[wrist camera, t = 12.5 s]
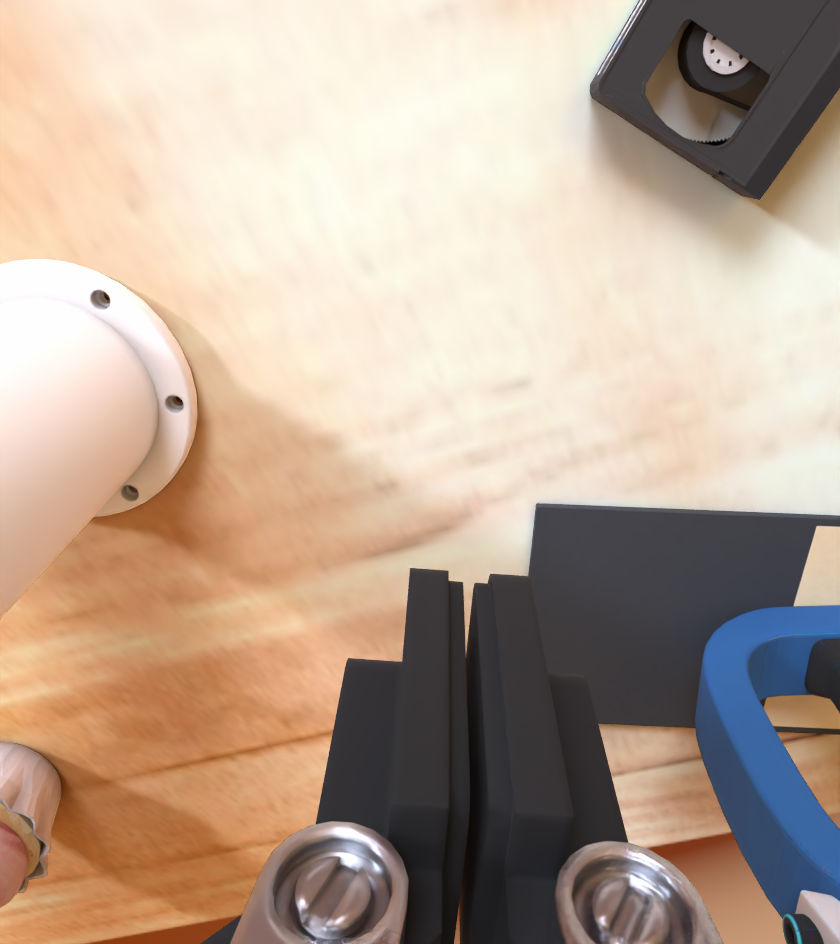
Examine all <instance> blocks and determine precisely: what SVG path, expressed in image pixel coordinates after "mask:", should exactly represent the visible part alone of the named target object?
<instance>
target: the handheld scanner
mask: <svg viewBox="0 0 840 944" xmlns="http://www.w3.org/2000/svg"><path fill="white" fill-rule="evenodd" d="M792 695H815V696H819V697H823V698H827V699H831V701H832V702H833V704H834V705H835V707H836V708H837V710H838V711H839V713H840V605H824V606H787V607H769V608H762V609H757V610H754V611H750V612H747V613H744V614H741V615H739V616H737V617H735V618H733V619H731V620H729V621H727V622H725V623H724V624H723V625H722V626H721V627H719V628H718V629H717V630H716V631H715V632H714V633H713V634H712V636H711V638H710V639H709V641H708V642H707V644H706V646H705V650H704V655H703V660H702V667H701V675H700V683H699V690H698V698H697V706H696V714H695V725H696V736H697V741H698V745H699V748H700V752H701V755H702V759H703V762H704V765H705V768H706V770H707V773H708V776H709V778H710V781H711V784H712V786H713V789H714V791H715V794H716V796H717V799H718V801H719V804H720V806H721V809H722V811H723V814H724V816H725V818H726V820H727V822H728V824H729V827H730V829H731V831H732V833H733V835H734V837H735V839H736V842H737V844H738V846H739V848H740V850H741V852H742V854H743V856H744V858H745V860H746V861H747V863H748V865H749V867H750V868H751V870H752V872H753V874H754V875H755V877H756V879H757V881H758V882H759V884H760V886H761V888H762V890H763V891H764V893H765V895H766V897H767V898H768V900H769V901H770V902H771V904H772V905H773V906H774V908H775V909H776V910H777V912H778V913H779V914H780V916H781V917H782V919H783V932H784V936H785V940H786V943H787V944H840V829H839V828H838V827H837V826H836V825H835V823H834V822H833V821H832V820H831V819H830V817H829V816H828V815H827V813H826V812H825V811H824V809H823V808H822V807H821V805H820V804H819V802H818V800H817V799H816V797H815V796H814V794H813V793H812V791H811V789H810V788H809V786H808V785H807V783H806V782H805V780H804V779H803V777H802V775H801V774H800V772H799V770H798V769H797V767H796V765H795V764H794V762H793V760H792V759H791V757H790V755H789V753H788V752H787V750H786V748H785V747H784V745H783V743H782V741H781V740H780V738H779V736H778V734H777V732H776V731H775V729H774V727H773V725H772V723H771V721H770V720H769V718H768V716H767V714H766V712H765V710H764V708H763V706H762V705H761V703H760V700H763V699H765V698H768V697H776V696H792Z"/></svg>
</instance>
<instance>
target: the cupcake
mask: <svg viewBox="0 0 840 944" xmlns="http://www.w3.org/2000/svg"><path fill="white" fill-rule="evenodd" d="M60 799H61V781H60V778H59V775H58V772H57V771H56V770H55V768H54V767H53V766H52V764H51V763H50V762H49V761H48V760H47V759H45V758H44V757H43V756H42V755H40V754H39V753H37V752H35V751H33V750H31V749H29V748H27V747H24V746H21V745H19V744H15V743H8V742H0V908H1V907H2V906H4V905H6V904H7V903H8V902H9V901H10V900H11V899H12V898H13V897H14V896H15V895H16V894H17V893H24V892H25V891H26V888H27V884H28V880H30V879H36V878H42V877H45V876H47V875H48V853H49V852H50V849H51V830H52V826H53V823H54V819H55V816H56V812H57V809H58V805H59V802H60Z"/></svg>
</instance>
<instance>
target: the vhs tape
mask: <svg viewBox="0 0 840 944" xmlns="http://www.w3.org/2000/svg"><path fill="white" fill-rule="evenodd" d="M839 88H840V0H639V2H638V3H637V5H636V7H635V8H634V10H633V12H632V14H631V15H630V17H629V19H628V21H627V22H626V24H625V26H624V27H623V29H622V31H621V33H620V34H619V36H618V38H617V39H616V41H615V43H614V45H613V46H612V48H611V50H610V51H609V53H608V55H607V57H606V58H605V60H604V62H603V63H602V65H601V67H600V69H599V70H598V72H597V74H596V75H595V77H594V79H593V81H592V82H591V84H590V94H591V96H592V98H593V99H595V100H596V101H598V102H599V103H601V104H602V105H604V106H605V107H607V108H608V109H610V110H611V111H613V112H615V113H616V114H618V115H619V116H621V117H622V118H624V119H625V120H627V121H628V122H630V123H631V124H633V125H634V126H636V127H637V128H639V129H640V130H642V131H643V132H645V133H646V134H648V135H649V136H651V137H652V138H654V139H656V140H657V141H659V142H660V143H662V144H663V145H665V146H666V147H668V148H669V149H671V150H672V151H674V152H675V153H677V154H678V155H680V156H682V157H683V158H685V159H686V160H688V161H689V162H691V163H692V164H694V165H695V166H697V167H698V168H700V169H701V170H703V171H704V172H706V173H708V174H713V176H712V177H714V178H715V179H717V180H718V181H720V182H721V183H723V184H724V185H726V186H727V187H729V188H730V189H732V190H734V191H735V192H737V193H738V194H740V195H741V196H744V197H749V198H753V199H758V200H760V199H761V198H762V196H763V195H764V193H765V192H766V191H767V189H768V188H769V186H770V185H771V184H772V182H773V181H774V179H775V178H776V177H777V175H778V174H779V172H780V171H781V170H782V168H783V167H784V165H785V164H786V163H787V161H788V160H789V158H790V157H791V156H792V154H793V153H794V151H795V150H796V148H797V147H798V146H799V144H800V143H801V141H802V140H803V139H804V137H805V136H806V134H807V133H808V132H809V130H810V129H811V127H812V126H813V125H814V123H815V122H816V120H817V119H818V118H819V116H820V115H821V113H822V112H823V111H824V109H825V108H826V106H827V105H828V104H829V102H830V101H831V99H832V98H833V97H834V95H835V94H836V92H837V91H838V90H839Z"/></svg>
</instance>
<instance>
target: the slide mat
mask: <svg viewBox="0 0 840 944" xmlns="http://www.w3.org/2000/svg"><path fill="white" fill-rule="evenodd" d="M528 577H530V580H531V585H532V591H533V596H534V602H535V607H536V612H537V618H538V623H539V629H540V634H541V639H542V645H543V650H544V656H545V661H546V667H547V672H550V673H564V674H578V675H583V676H584V677H585V678H586V681H587V684H588V686H589V690H590V694H591V698H592V702H593V706H594V710H595V714H596V718H597V722H598V723H599V724H621V725H643V726H664V727H686V728H696V725H695V714H696V706H697V698H698V690H699V683H700V675H701V667H702V660H703V655H704V650H705V646H706V644H707V642H708V641H709V639H710V638H711V636H712V634H713V633H714V632H715V631H716V630H717V629H718V628H719V627H721V626H722V625H723V624H724V623H725V622H727V621H729V620H731V619H733V618H735V617H737V616H739V615H741V614H744V613H747V612H750V611H754V610H757V609H762V608H769V607H787V606H824V605H840V516H832V515H808V514H783V513H759V512H734V511H710V510H685V509H661V508H636V507H612V506H587V505H563V504H538V503H537V504H536V511H535V520H534V529H533V539H532V548H531V557H530V566H529V576H528ZM760 703H761V705H762V706H763V708H764V710H765V712H766V714H767V716H768V718H769V720H770V721H771V723H772V725H773V727H774V729H775V731H776V732H795V733H817V734H839V735H840V713H839V711H838V710H837V708H836V707H835V705H834V704H833V702H832V701H831V699H827V698H823V697H819V696H815V695H792V696H776V697H768V698H765V699H763V700H760Z"/></svg>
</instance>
